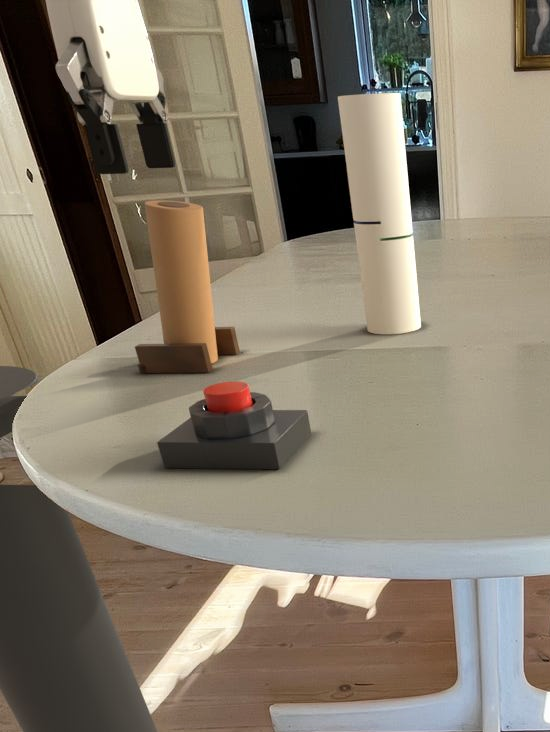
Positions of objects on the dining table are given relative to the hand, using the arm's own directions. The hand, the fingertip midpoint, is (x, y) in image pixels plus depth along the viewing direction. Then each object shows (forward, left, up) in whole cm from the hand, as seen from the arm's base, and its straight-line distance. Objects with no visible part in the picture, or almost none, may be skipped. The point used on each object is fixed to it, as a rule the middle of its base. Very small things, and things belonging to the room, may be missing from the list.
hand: (138, 170), depth 77 cm
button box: (+18, -28, -20) cm, 39 cm away
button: (+18, -28, -16) cm, 37 cm away
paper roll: (0, 0, -19) cm, 19 cm away
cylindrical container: (+21, +16, -20) cm, 33 cm away
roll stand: (0, 0, -20) cm, 20 cm away
